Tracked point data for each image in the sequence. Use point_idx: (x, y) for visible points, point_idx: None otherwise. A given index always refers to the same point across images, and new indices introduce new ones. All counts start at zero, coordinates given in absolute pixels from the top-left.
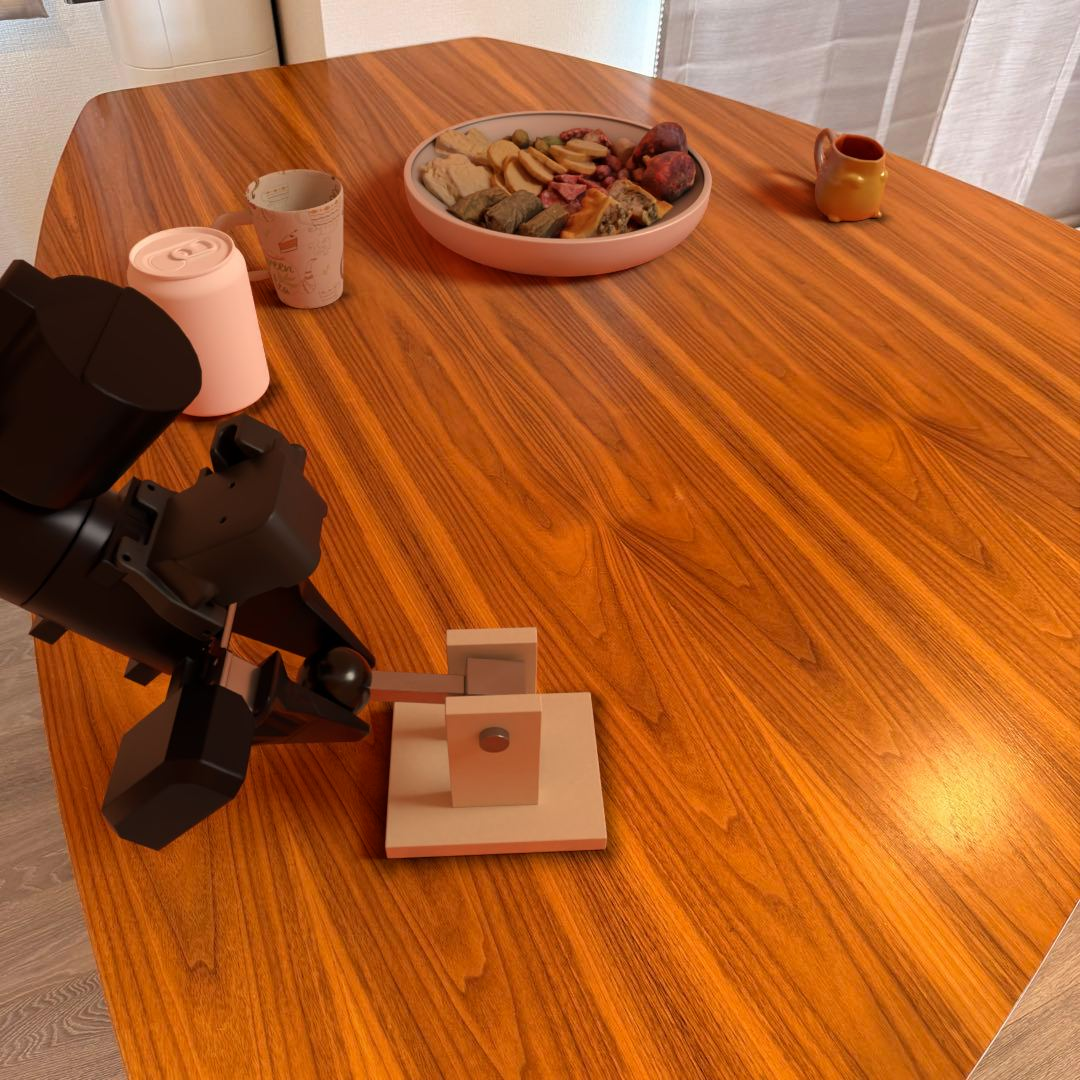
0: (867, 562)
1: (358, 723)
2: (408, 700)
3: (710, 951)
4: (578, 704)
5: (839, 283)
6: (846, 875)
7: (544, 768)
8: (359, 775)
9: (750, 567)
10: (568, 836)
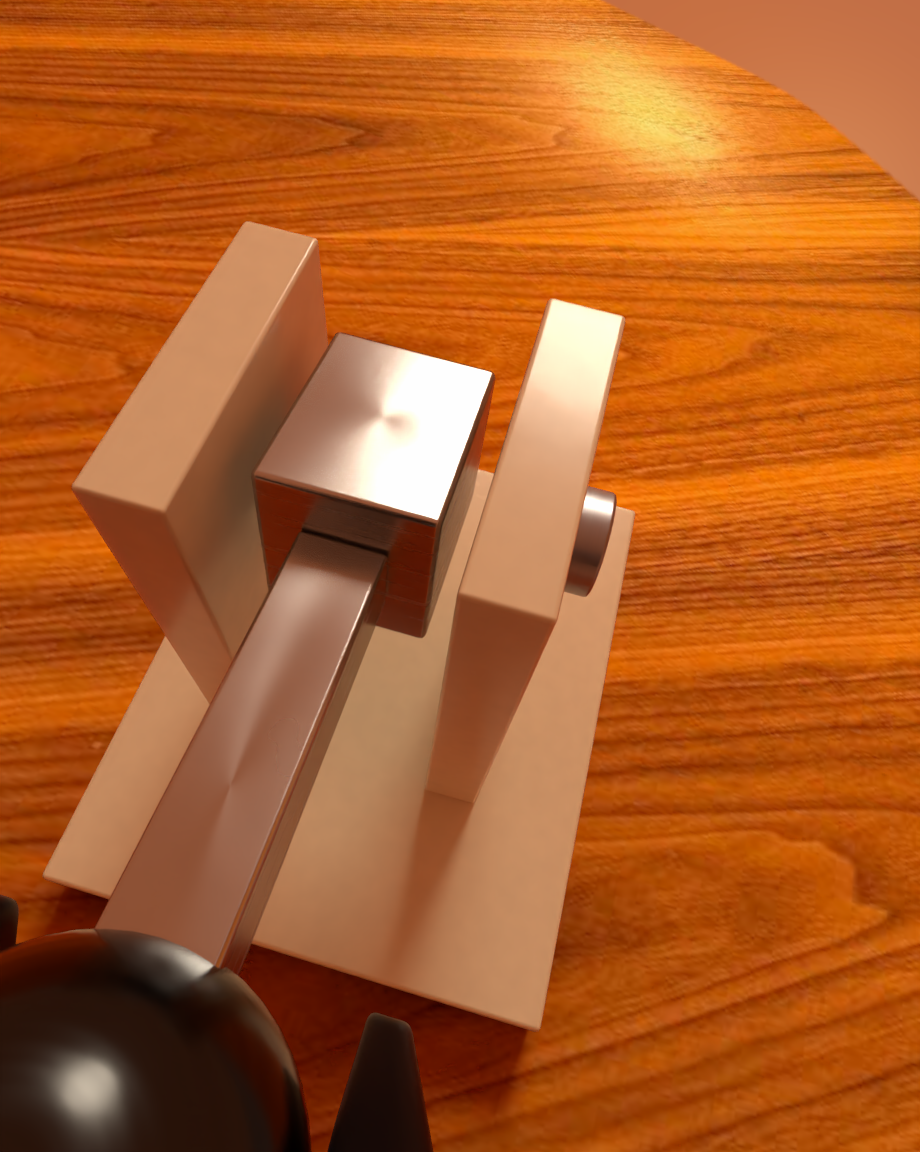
0: (212, 4)
1: (394, 1087)
2: (310, 787)
3: (834, 459)
4: None
5: None
6: (735, 258)
7: None
8: None
9: (120, 113)
10: (615, 576)
